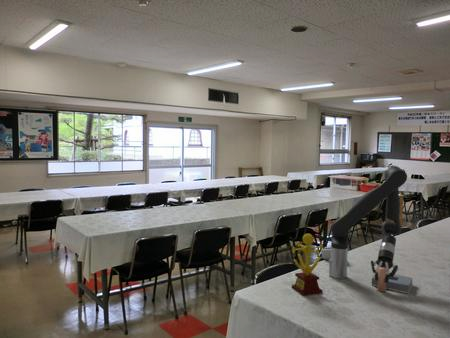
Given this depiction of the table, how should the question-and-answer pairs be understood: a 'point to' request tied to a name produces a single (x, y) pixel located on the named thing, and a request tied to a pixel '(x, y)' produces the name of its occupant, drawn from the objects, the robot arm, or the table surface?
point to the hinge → (327, 253)
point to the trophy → (307, 269)
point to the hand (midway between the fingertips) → (381, 281)
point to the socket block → (396, 283)
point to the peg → (381, 279)
